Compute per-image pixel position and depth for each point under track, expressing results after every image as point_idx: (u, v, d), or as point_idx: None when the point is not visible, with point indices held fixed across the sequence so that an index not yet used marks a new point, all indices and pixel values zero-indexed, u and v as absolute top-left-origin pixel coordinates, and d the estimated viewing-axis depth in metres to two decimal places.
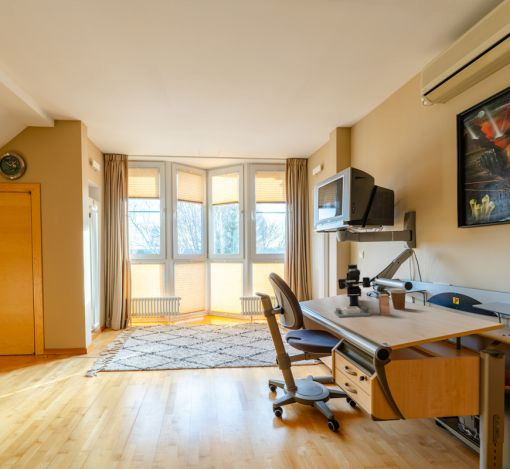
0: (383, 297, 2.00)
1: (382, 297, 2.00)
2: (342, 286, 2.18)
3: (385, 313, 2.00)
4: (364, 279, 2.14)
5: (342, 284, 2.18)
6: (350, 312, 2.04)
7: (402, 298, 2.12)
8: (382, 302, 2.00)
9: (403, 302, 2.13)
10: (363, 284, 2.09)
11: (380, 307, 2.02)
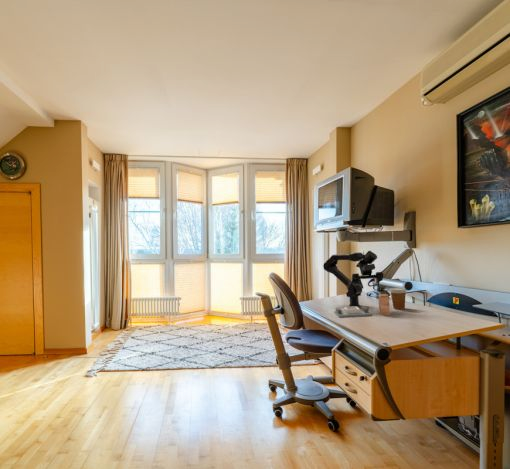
0: (383, 297, 2.00)
1: (382, 297, 2.00)
2: (356, 281, 2.20)
3: (385, 313, 2.00)
4: (378, 277, 2.17)
5: (356, 280, 2.19)
6: (350, 312, 2.04)
7: (402, 298, 2.12)
8: (382, 302, 2.00)
9: (403, 302, 2.13)
10: (378, 286, 2.14)
11: (380, 307, 2.02)
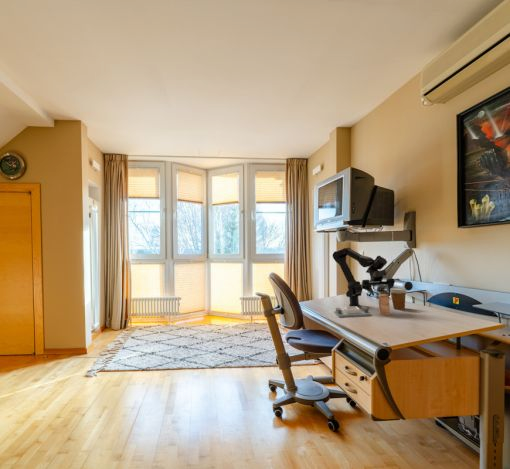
0: (383, 297, 2.00)
1: (382, 297, 2.00)
2: (366, 288, 2.12)
3: (385, 313, 2.00)
4: (390, 283, 2.09)
5: (366, 286, 2.11)
6: (350, 312, 2.04)
7: (402, 298, 2.12)
8: (382, 302, 2.00)
9: (403, 302, 2.13)
10: None
11: (380, 307, 2.02)
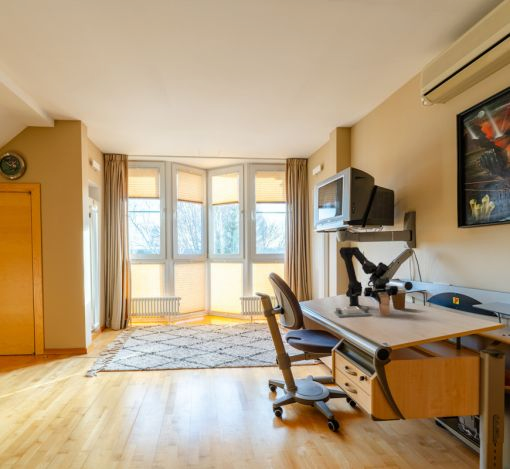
0: (383, 297, 2.00)
1: (382, 297, 2.00)
2: (372, 295, 2.07)
3: (385, 313, 2.00)
4: (389, 291, 2.03)
5: (373, 294, 2.06)
6: (350, 312, 2.04)
7: (402, 298, 2.12)
8: (382, 302, 2.00)
9: (403, 302, 2.13)
10: (389, 301, 2.01)
11: (380, 307, 2.02)
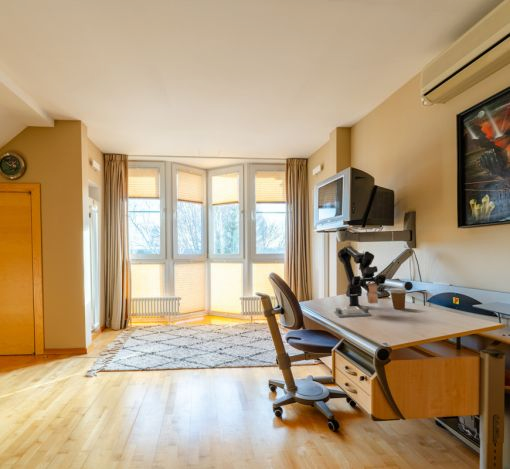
0: (371, 286, 2.02)
1: (370, 286, 2.02)
2: (361, 284, 2.09)
3: (373, 301, 2.02)
4: (377, 280, 2.06)
5: (361, 283, 2.08)
6: (350, 312, 2.04)
7: (402, 298, 2.12)
8: (370, 290, 2.02)
9: (403, 302, 2.13)
10: None
11: (368, 295, 2.04)
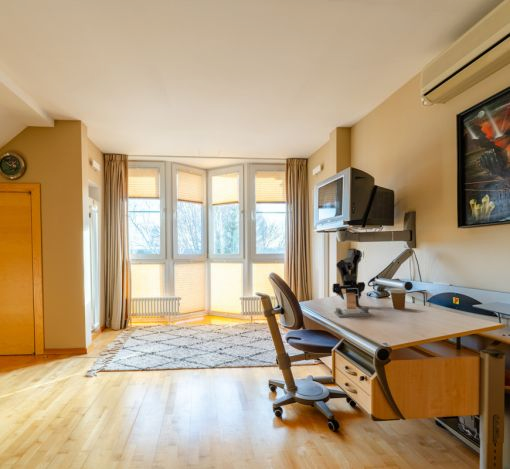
0: (350, 295, 2.06)
1: (349, 295, 2.06)
2: (337, 291, 2.12)
3: None
4: (360, 287, 2.09)
5: (337, 290, 2.11)
6: (350, 312, 2.04)
7: (402, 298, 2.12)
8: (349, 300, 2.06)
9: (403, 302, 2.13)
10: None
11: (347, 305, 2.08)
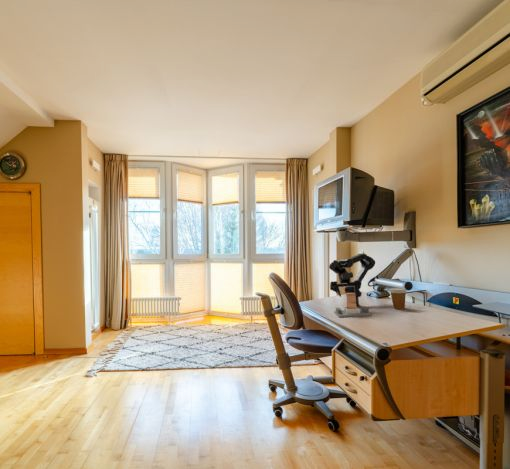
0: (350, 295, 2.05)
1: (349, 295, 2.05)
2: (334, 289, 2.21)
3: None
4: (356, 285, 2.18)
5: (334, 288, 2.20)
6: (350, 312, 2.04)
7: (402, 298, 2.12)
8: (349, 300, 2.05)
9: (403, 302, 2.13)
10: (356, 294, 2.15)
11: (347, 305, 2.07)
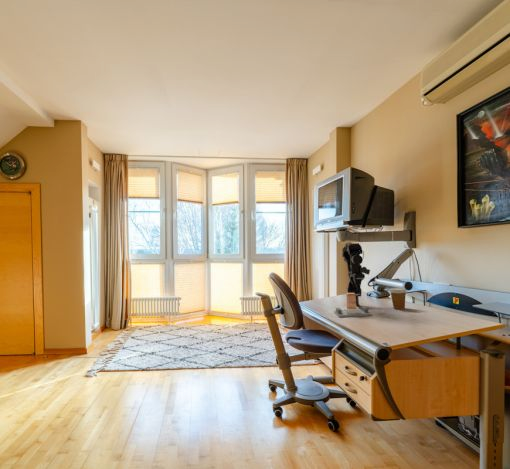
0: (350, 295, 2.05)
1: (349, 295, 2.05)
2: (356, 279, 2.13)
3: None
4: None
5: None
6: (350, 312, 2.04)
7: (402, 298, 2.12)
8: (349, 300, 2.05)
9: (403, 302, 2.13)
10: None
11: (347, 305, 2.07)
